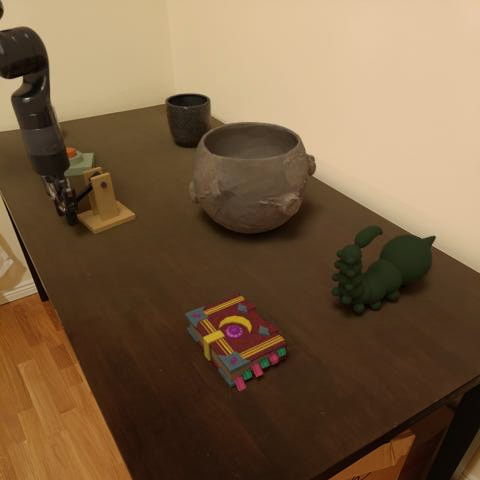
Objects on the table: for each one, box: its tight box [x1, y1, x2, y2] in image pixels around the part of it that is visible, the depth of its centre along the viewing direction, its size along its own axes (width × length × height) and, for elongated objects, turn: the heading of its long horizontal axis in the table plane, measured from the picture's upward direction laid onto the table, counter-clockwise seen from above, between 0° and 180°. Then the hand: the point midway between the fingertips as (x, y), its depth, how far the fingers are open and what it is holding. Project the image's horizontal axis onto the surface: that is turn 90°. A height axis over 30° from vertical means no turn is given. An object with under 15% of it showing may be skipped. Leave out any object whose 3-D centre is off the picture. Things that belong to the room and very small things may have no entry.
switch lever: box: [58, 171, 101, 212], centre depth 98 cm, size 12×5×2 cm, turn 130°
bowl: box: [188, 121, 317, 235], centre depth 97 cm, size 27×29×20 cm
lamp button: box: [66, 147, 76, 158], centre depth 123 cm, size 4×4×2 cm
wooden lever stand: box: [76, 166, 137, 235], centre depth 101 cm, size 11×9×12 cm
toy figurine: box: [330, 224, 437, 314], centre depth 78 cm, size 9×19×25 cm
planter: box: [164, 92, 212, 148], centre depth 135 cm, size 14×14×13 cm
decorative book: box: [184, 293, 288, 392], centre depth 72 cm, size 11×16×5 cm
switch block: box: [64, 150, 96, 177], centre depth 124 cm, size 12×10×4 cm
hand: (68, 219), depth 99 cm, fingers closed on switch lever, 5 cm apart
